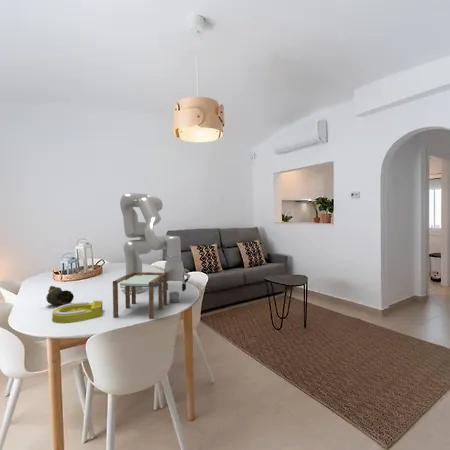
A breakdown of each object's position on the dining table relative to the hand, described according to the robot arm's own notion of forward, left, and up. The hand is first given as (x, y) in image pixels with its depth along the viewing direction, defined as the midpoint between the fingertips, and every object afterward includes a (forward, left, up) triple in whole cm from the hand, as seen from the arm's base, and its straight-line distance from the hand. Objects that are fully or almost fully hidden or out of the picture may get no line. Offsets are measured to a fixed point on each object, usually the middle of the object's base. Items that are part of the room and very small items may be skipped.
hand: (175, 290), depth 153 cm
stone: (-1, 0, -6) cm, 6 cm away
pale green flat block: (-13, -15, +4) cm, 20 cm away
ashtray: (-40, -24, -7) cm, 47 cm away
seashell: (-59, -12, -7) cm, 60 cm away
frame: (-13, -15, -6) cm, 20 cm away
